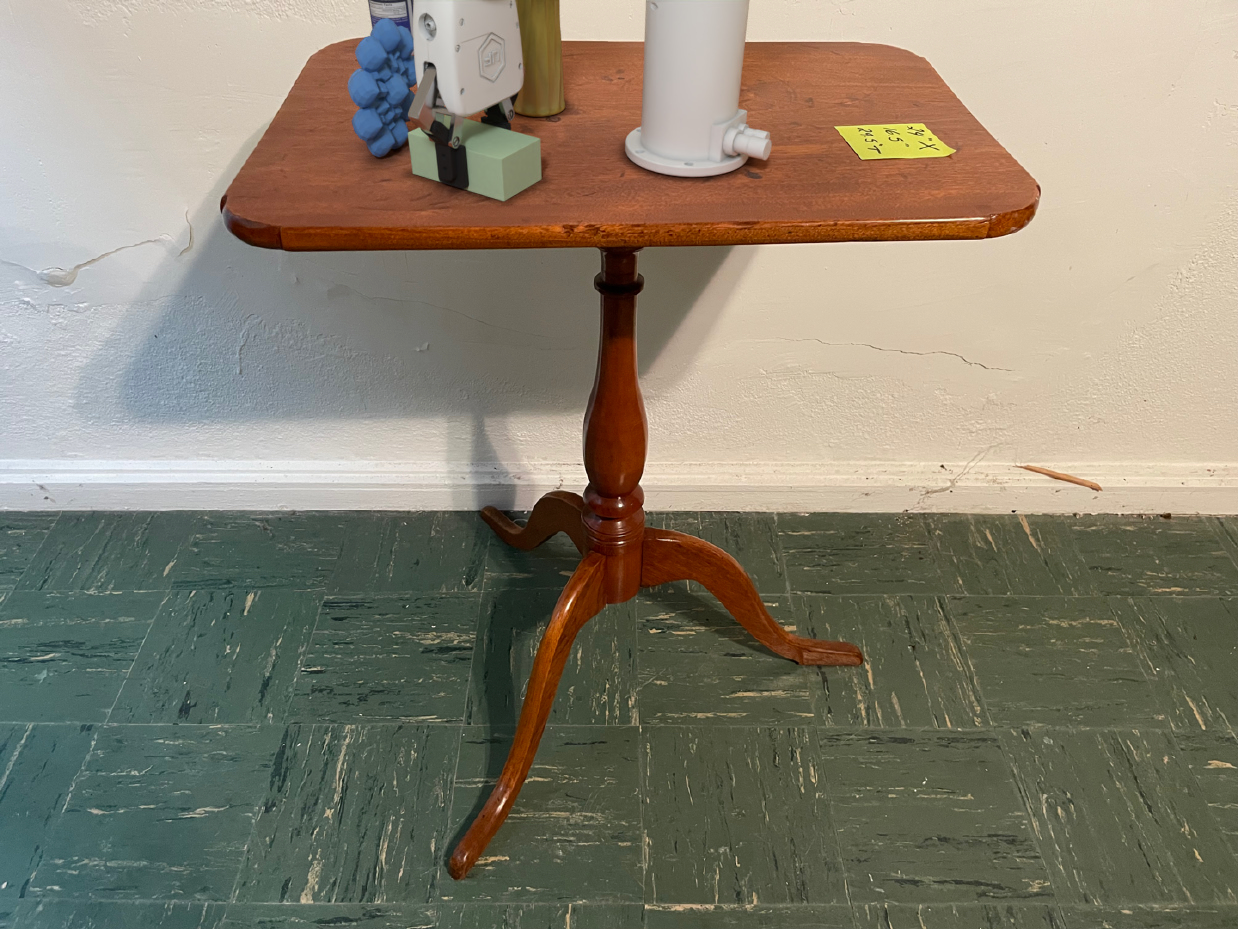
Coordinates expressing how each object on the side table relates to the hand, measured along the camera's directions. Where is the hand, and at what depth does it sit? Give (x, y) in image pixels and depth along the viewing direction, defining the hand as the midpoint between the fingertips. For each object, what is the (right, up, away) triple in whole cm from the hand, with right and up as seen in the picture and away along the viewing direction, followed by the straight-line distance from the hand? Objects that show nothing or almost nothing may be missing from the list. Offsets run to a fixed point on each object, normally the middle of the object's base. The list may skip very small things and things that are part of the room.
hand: (476, 170), depth 89 cm
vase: (+5, +12, +15) cm, 19 cm away
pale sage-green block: (0, 0, 0) cm, 1 cm away
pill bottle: (-14, +24, +29) cm, 40 cm away
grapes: (-10, +4, +6) cm, 12 cm away
